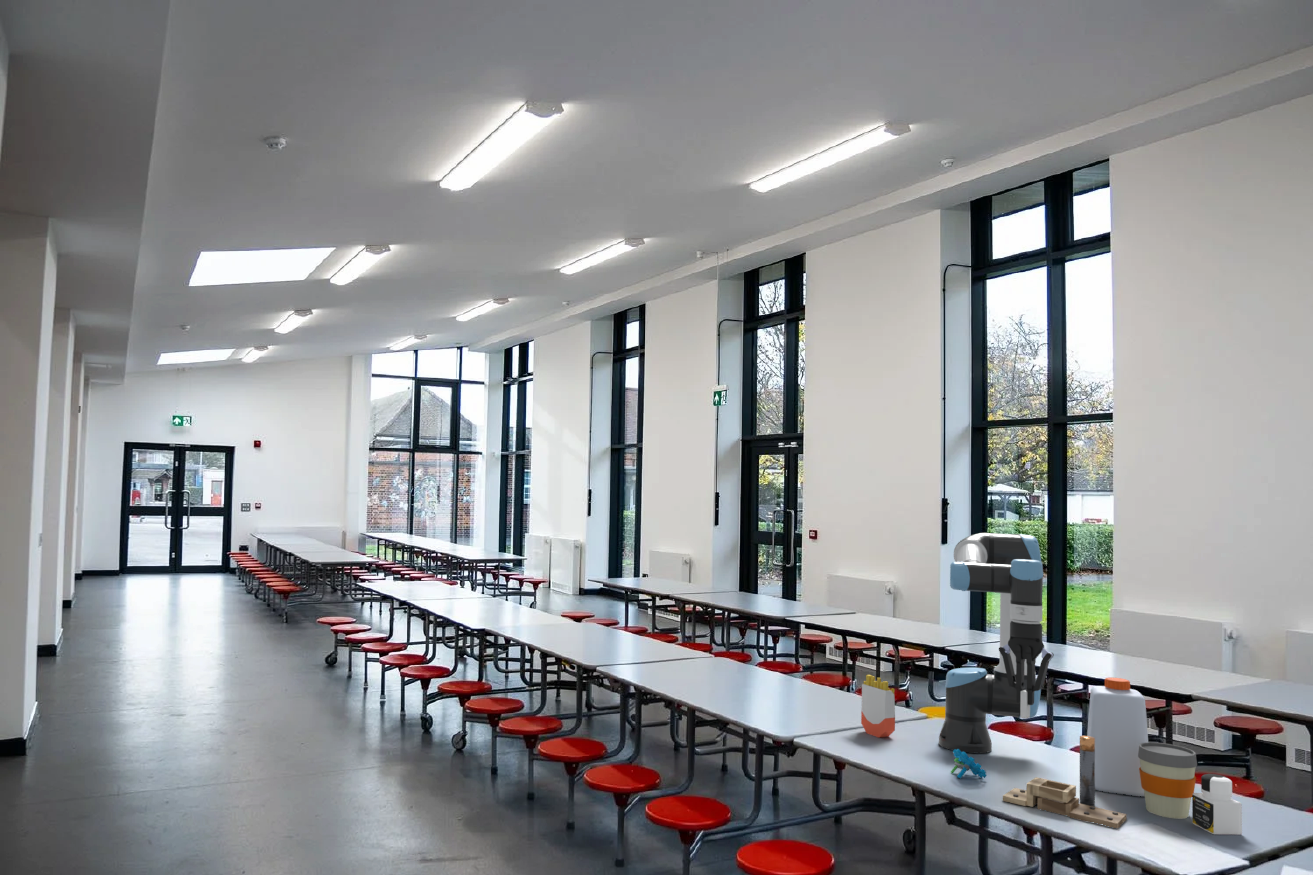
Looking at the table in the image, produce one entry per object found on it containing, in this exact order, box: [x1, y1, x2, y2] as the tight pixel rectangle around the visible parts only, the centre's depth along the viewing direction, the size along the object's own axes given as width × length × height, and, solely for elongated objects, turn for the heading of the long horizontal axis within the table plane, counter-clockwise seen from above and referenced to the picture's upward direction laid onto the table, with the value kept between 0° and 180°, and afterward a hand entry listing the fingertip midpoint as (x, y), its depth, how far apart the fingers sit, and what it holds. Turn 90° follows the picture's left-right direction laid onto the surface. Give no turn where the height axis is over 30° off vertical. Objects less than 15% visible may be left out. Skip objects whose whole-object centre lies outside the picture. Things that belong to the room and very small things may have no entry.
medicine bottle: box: [1191, 773, 1243, 836], centre depth 207 cm, size 7×7×12 cm
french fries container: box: [860, 674, 896, 739], centre depth 283 cm, size 5×11×18 cm, turn 28°
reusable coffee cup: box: [1138, 742, 1198, 820], centre depth 218 cm, size 13×13×15 cm
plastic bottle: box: [1086, 677, 1149, 797], centre depth 238 cm, size 15×15×28 cm
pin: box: [1079, 735, 1096, 807], centre depth 222 cm, size 3×3×16 cm
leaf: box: [1002, 776, 1077, 808], centre depth 220 cm, size 9×15×5 cm, turn 50°
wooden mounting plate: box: [1037, 796, 1128, 830], centre depth 214 cm, size 9×18×3 cm, turn 50°
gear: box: [950, 749, 987, 780], centre depth 240 cm, size 11×6×10 cm
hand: (1025, 717), depth 223 cm, fingers closed
